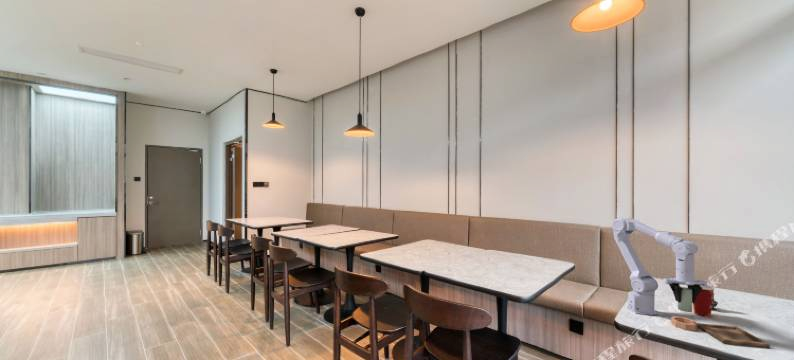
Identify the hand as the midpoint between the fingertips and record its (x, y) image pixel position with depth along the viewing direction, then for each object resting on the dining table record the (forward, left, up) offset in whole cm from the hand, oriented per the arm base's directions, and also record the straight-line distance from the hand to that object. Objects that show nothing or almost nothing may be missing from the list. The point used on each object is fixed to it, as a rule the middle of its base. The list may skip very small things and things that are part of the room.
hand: (684, 301), depth 129 cm
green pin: (0, 0, -3) cm, 3 cm away
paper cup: (+16, +15, -11) cm, 24 cm away
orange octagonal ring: (0, 0, -10) cm, 10 cm away
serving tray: (+12, -6, -10) cm, 17 cm away
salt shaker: (+24, +23, -11) cm, 35 cm away
